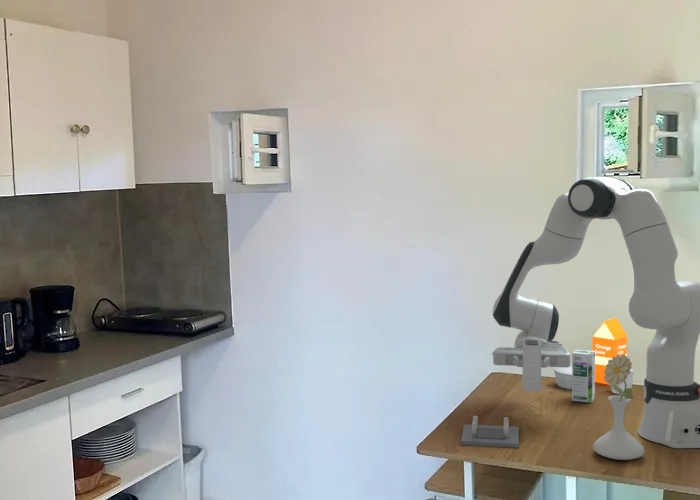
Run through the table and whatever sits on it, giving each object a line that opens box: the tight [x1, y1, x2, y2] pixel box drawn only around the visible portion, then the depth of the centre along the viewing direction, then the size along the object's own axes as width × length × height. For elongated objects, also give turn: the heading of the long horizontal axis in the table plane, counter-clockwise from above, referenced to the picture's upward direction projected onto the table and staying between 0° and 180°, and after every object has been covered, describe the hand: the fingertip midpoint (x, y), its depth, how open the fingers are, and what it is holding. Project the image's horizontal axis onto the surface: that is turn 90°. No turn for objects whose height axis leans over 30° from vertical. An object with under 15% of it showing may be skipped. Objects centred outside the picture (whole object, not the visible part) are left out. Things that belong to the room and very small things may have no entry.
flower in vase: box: [592, 354, 645, 461], centre depth 180 cm, size 13×11×25 cm
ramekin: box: [554, 365, 572, 390], centre depth 242 cm, size 11×11×5 cm
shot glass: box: [610, 368, 635, 396], centre depth 235 cm, size 7×7×7 cm
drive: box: [522, 340, 542, 392], centre depth 202 cm, size 5×6×12 cm
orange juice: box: [591, 317, 628, 386], centre depth 247 cm, size 8×9×20 cm
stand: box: [460, 415, 520, 449], centre depth 196 cm, size 14×13×4 cm
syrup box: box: [571, 349, 596, 404], centre depth 227 cm, size 6×6×14 cm
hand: (531, 364), depth 202 cm, fingers closed on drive, 5 cm apart
